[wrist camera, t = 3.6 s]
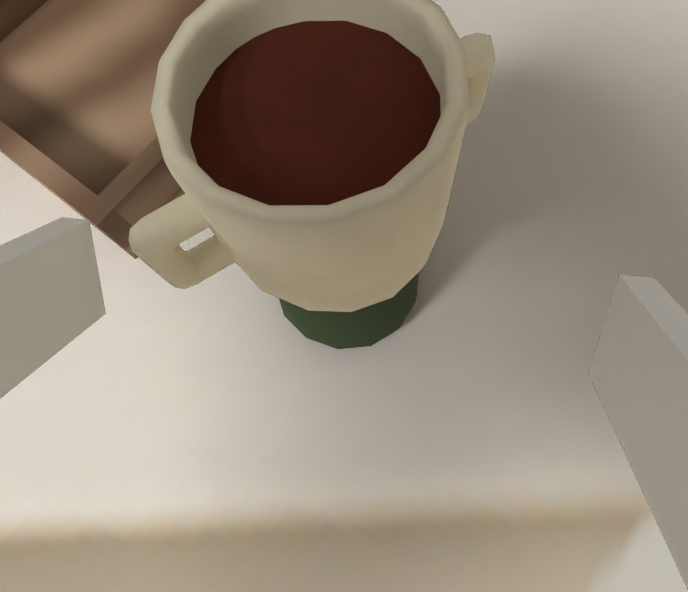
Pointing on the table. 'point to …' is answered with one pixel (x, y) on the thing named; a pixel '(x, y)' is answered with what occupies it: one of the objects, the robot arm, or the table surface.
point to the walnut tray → (89, 103)
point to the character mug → (313, 152)
